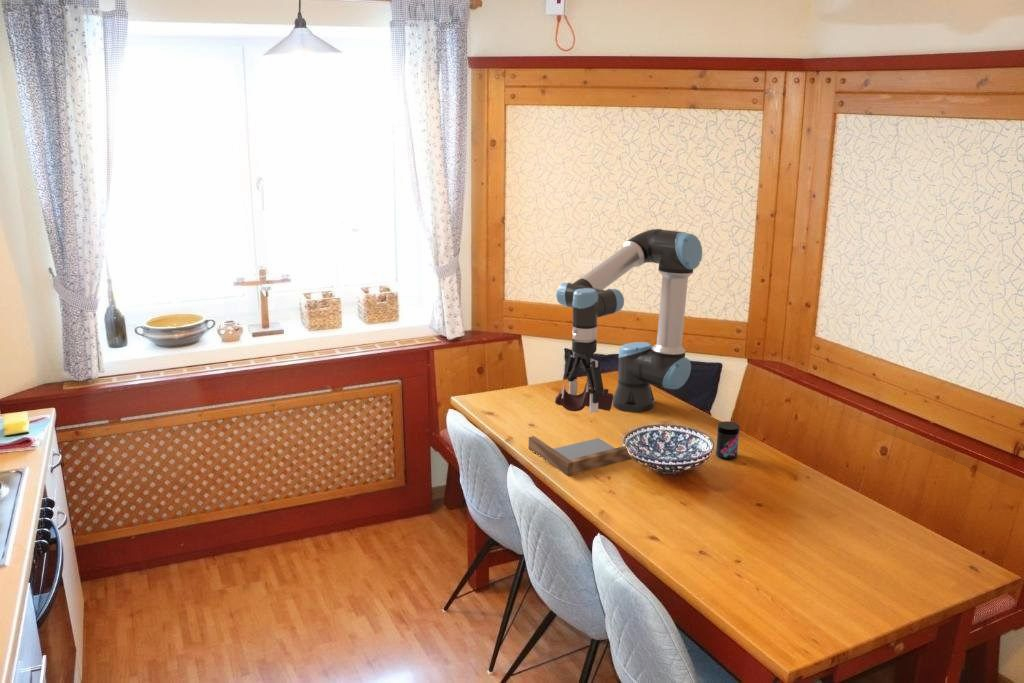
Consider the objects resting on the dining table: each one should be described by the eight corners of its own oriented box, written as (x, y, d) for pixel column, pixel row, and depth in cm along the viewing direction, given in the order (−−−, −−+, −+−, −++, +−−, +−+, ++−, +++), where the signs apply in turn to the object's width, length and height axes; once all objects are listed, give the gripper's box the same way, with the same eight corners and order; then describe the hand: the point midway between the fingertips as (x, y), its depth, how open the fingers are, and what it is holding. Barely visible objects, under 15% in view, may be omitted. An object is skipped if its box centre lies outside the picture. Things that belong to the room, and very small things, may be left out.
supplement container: (714, 459, 269) (717, 428, 266) (716, 450, 275) (718, 420, 272) (737, 461, 267) (739, 430, 264) (737, 453, 273) (740, 422, 270)
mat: (598, 438, 285) (598, 437, 285) (617, 450, 276) (617, 449, 276) (546, 451, 275) (546, 450, 275) (565, 463, 266) (565, 462, 266)
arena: (590, 434, 289) (590, 423, 287) (632, 459, 269) (632, 447, 268) (528, 448, 277) (528, 437, 276) (567, 475, 258) (567, 463, 257)
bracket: (555, 395, 275) (561, 372, 269) (607, 407, 275) (615, 384, 269) (553, 408, 270) (560, 385, 264) (606, 420, 271) (614, 397, 264)
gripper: (553, 331, 273) (553, 396, 279) (596, 350, 253) (594, 420, 260) (573, 328, 276) (572, 392, 283) (616, 347, 257) (614, 415, 263)
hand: (583, 406), depth 271 cm, fingers closed on bracket, 11 cm apart
